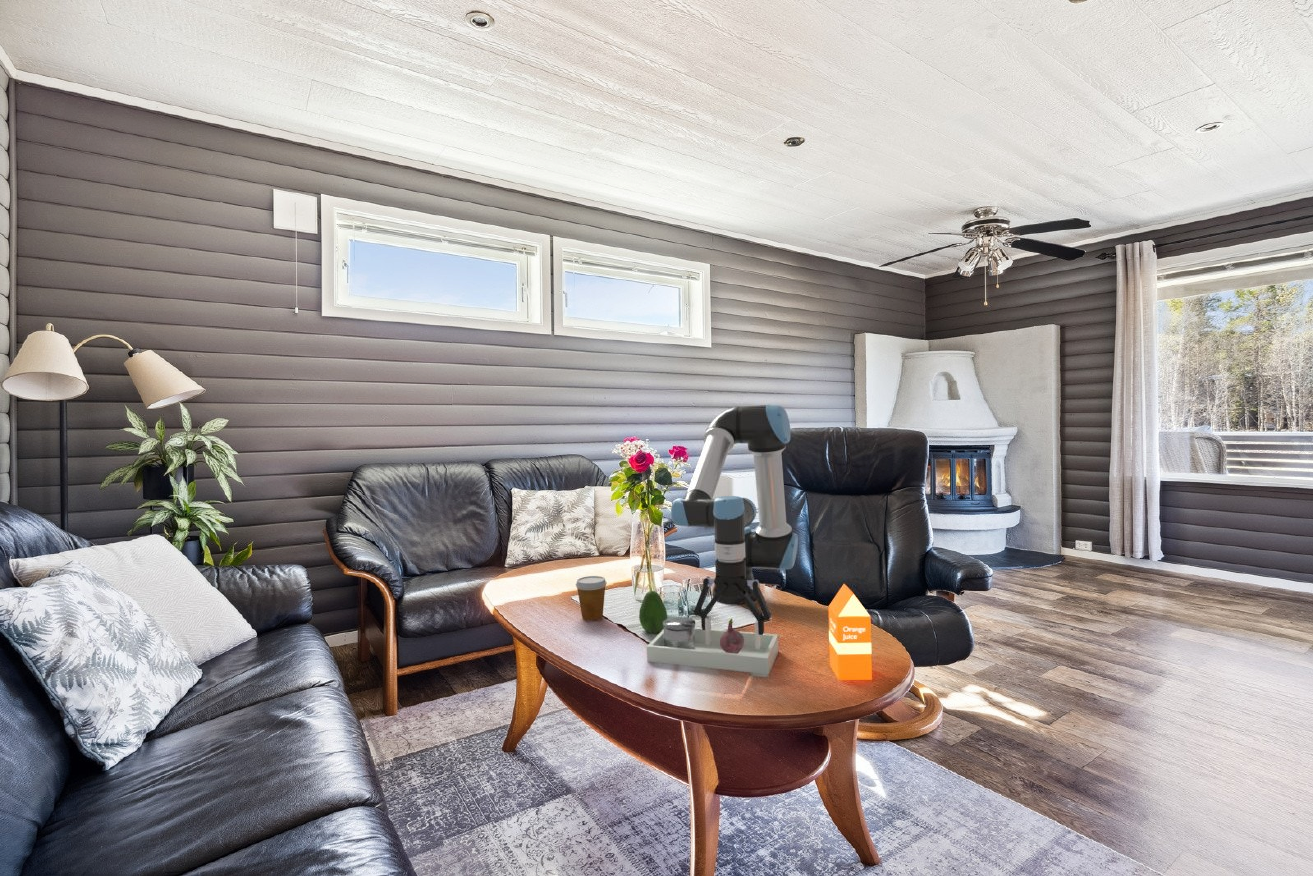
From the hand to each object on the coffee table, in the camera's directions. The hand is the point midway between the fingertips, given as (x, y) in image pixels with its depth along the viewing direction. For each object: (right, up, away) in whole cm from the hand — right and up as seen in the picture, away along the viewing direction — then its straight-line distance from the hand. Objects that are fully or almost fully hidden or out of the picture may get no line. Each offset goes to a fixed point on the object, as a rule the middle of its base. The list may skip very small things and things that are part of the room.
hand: (732, 644), depth 156 cm
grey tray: (-5, -4, +2) cm, 6 cm away
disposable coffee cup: (-39, -4, +36) cm, 53 cm away
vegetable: (0, -3, 0) cm, 3 cm away
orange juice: (+26, -4, -9) cm, 28 cm away
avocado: (-20, -4, +21) cm, 29 cm away
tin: (-13, -3, +5) cm, 14 cm away
